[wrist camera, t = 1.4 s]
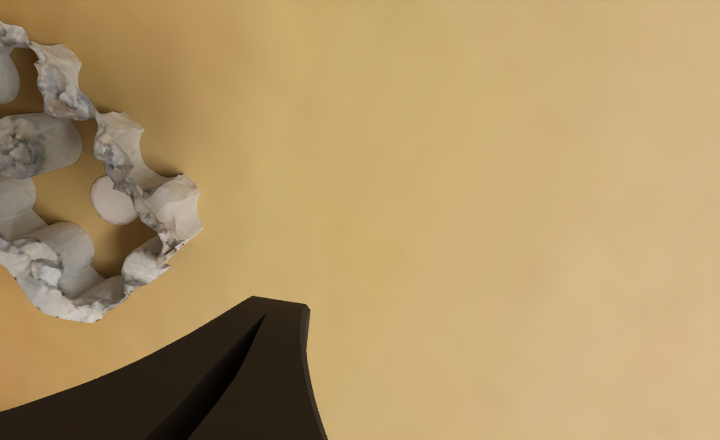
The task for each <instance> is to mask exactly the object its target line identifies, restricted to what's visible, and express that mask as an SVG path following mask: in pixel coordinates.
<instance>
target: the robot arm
mask: <svg viewBox="0 0 720 440" xmlns="http://www.w3.org/2000/svg"><path fill="white" fill-rule="evenodd" d="M309 319H310V309H309V307H308V306H307V305H306V304H301V303H294V302H288V301H282V300H275V299H269V298H263V297H256V296H251V297H250V298H248V299H246V300H244V301H243V302H241V303H239V304H238V305H236V306H234V307H233V308H231V309H230V310H228V311H226V312H225V313H223V314H222V315H220V316H218V317H217V318H215V319H213V320H212V321H210V322H208V323H207V324H205V325H203V326H202V327H200V328H198V329H196V330H195V331H193V332H191V333H190V334H188V335H186V336H184V337H182V338H180V339H178V340H177V341H175V342H173V343H171V344H169V345H167V346H165V347H163V348H161V349H160V350H158V351H156V352H154V353H152V354H150V355H148V356H146V357H144V358H142V359H140V360H138V361H136V362H134V363H131V364H129V365H127V366H125V367H123V368H120V369H118V370H116V371H113V372H111V373H108V374H106V375H104V376H101V377H99V378H97V379H94V380H92V381H89V382H87V383H84V384H81V385H79V386H76V387H73V388H70V389H67V390H64V391H61V392H59V393H56V394H53V395H50V396H47V397H44V398H42V399H39V400H36V401H33V402H30V403H27V404H24V405H21V406H18V407H15V408H12V409H8V410H5V411H2V412H0V440H328V438H327V436H326V433H325V430H324V427H323V424H322V421H321V418H320V415H319V412H318V408H317V405H316V401H315V397H314V393H313V389H312V384H311V380H310V375H309V369H308V363H307V353H306V347H307V338H308V328H309Z"/></svg>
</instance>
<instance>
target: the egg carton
mask: <svg viewBox="0 0 720 440" xmlns="http://www.w3.org/2000/svg"><path fill="white" fill-rule="evenodd" d="M15 47H17V48H31V49H33V50H34V52H35V53H36V55H37V56H38V58H39V59H40V60H38V61H37V62H36V63H34V65H35V67H36V69H37V70H38V79H37V83H36V85H37V87H38V89H39V91H40V93H41V94H42V96H43V99H44V106H43V111H44V112H41V113H31V112H30V106H29V114H18V115H9V116H5V117H3V118H1V119H0V264H1V265H3V266H4V267H6V269H7V270H8V271H9V272H10V273H11V275H12V276H13V277H14V278H15V280H16V281H17V283H18V284H19V285H20V287H21V288H22V290H23V291H24V293H25V294H26V296H27V297H28V299H29V300H30V301H31V303H32V304H33V305H35V306H36V307H37V308H38V309H40V310H41V311H42V312H44V313H45V314H48V315H51V316H54V317H57V318H63V319H68V320H73V321H79V322H86V323H94V322H96V321H98V320H100V319H101V318H103V317H104V315H105V314H106V312H107V311H109V310H111V309H113V308H115V307H116V306H118V305H119V304H120V303H122V302H123V301H124V300H126V299H127V298H128V297H129V296H130V295H129V293H131V292H132V291H133V290H135V289H137V288H139V287H140V286H143V285H146V284H149V283H150V282H151V281H153V280H154V279H156V278H157V277H158V276H160V275H161V274H163V273H164V272H165V271H166V270H168V269H169V268H170V267H171V266H170V265H167V264H165V263H166V262H167V261H168V260H169V259H170V258H171V257H172V256H173V255H174V254H175V253H176V252H177V251H178V250H179V249H180V248H181V247H182V246H183V245H185V244H186V243H187V242H188V241H189V240H191V239H192V238H193V237H195V236H196V235H197V234H198V233H199V232H201V231H202V230H203V226H202V224H201V222H200V219H199V217H198V215H197V209H196V207H197V200H198V198H199V196H200V191H199V189H198V187H197V186H196V185H195V183H194V182H193V181H192V180H191V179H190V178H189V177H188V176H187V175H185V174H182V175H178V176H177V177H168V178H167V177H164V176H160V175H158V174H157V173H155V172H153V171H152V170H151V169H149V168H148V167H147V165H146V164H145V163H144V161H143V159H142V156H141V152H140V145H139V142H140V138H141V135H142V133H143V131H144V129H143V128H142V127H141V126H140V125H139V124H138V123H136V122H135V121H134V120H132V119H131V118H130V117H128V116H127V115H126V114H125V113H124V112H121V113H116V112H114V111H112V112H109V113H106V114H101V113H99V112H97V110H96V108H95V107H94V105H93V104H92V102H91V100H90V99H89V98H88V97H87V96H86V95H85V94H84V93H82V92H81V91H80V90H79V85H78V74H79V71H80V68H81V66H82V63H81V62H80V61H79V59H78V58H77V56H76V55H75V54H74V53H73V52H72V51H71V50H70V49H69V48H67V47H66V46H65V45H63V44H56V45H41V44H39V43H37V42H34V41H29V40H28V36H27V33H26V31H25V30H24V29H23V28H22V27H20V26H17V25H7V24H4V23H2V22H1V21H0V105H3V104H7V103H9V102H11V101H13V100H14V99H15V98H16V97H17V95H18V92H19V89H20V77H19V73H18V71H17V68H16V66H15V65H14V63H13V61H12V60H11V58H10V53H11V51H12V50H13V49H14V48H15ZM70 119H73V120H81V121H83V120H89V119H96V121H97V123H98V130H97V132H96V135H95V139H94V145H93V156H94V157H95V158H97V159H99V160H100V161H102V162H104V167H105V171H106V174H107V175H104V176H101V177H100V178H98V179H97V180H96V181H95V183H94V184H93V186H92V189H91V194H90V196H91V203H92V205H93V207H94V208H95V210H96V212H97V213H98V215H99V217H100V218H102V219H103V220H105V221H107V222H109V223H112V224H115V225H126V224H129V223H131V222H133V221H134V220H135V219H136V218H137V217H138V215H139V217H140V219H141V221H142V222H144V223H145V224H146V225H147V226H149V227H150V228H151V229H153V230H154V231H156V232H157V233H158V235H156V236H155V237H153V238H151V239H150V240H148V241H147V242H145V243H144V244H142V245H141V246H139V247H138V248H136V249H134V250H133V251H132V252H131V253H130V254H129V255H128V256H127V257H126V258H125V261H124V264H123V267H122V271H121V273H122V275H118V276H113V277H111V278H109V279H104V278H103V277H102V276H101V275H100V274H98V273H97V272H96V271H95V270H94V269H93V267H92V266H91V265H90V263H91V262H92V260H93V258H94V254H95V247H94V243H93V241H92V239H91V237H90V235H89V234H88V232H87V231H85V230H84V229H83V228H82V227H80V226H78V225H77V224H75V223H72V222H63V221H62V222H58V223H55V224H52V225H48V224H47V223H45V222H44V221H43V220H42V219H41V218H40V217H39V216H38V215H37V214H36V213H35V212H34V211H33V209H32V208H33V206H34V204H35V201H36V188H35V185H34V183H33V181H32V179H31V178H30V177H32V176H36V175H40V174H43V173H47V172H50V171H54V170H57V169H61V168H65V167H68V166H70V165H72V164H74V163H75V162H76V161H77V160H78V159H79V157H80V155H81V152H82V149H83V145H82V139H81V136H80V133H79V131H78V129H77V127H76V126H75V124H74V123H73V122H72V121H71V120H70Z"/></svg>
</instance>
